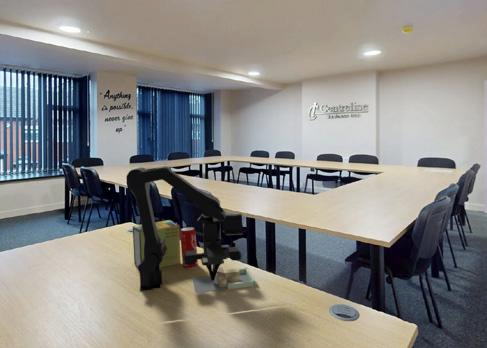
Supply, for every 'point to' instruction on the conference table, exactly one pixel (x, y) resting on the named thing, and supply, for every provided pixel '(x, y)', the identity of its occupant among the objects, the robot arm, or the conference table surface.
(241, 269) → the platform with raised edges
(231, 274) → the t block
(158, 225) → the protein box
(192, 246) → the beverage can
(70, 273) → the conference table surface
